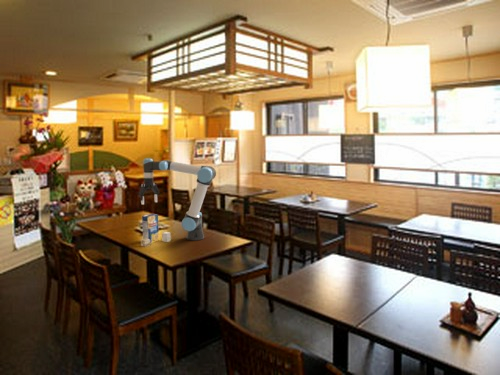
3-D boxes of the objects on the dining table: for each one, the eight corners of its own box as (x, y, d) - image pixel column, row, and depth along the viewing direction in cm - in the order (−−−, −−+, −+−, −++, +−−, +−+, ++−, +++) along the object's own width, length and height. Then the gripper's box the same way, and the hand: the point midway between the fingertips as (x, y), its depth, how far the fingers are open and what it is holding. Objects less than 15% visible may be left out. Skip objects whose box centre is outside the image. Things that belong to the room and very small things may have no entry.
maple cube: (150, 245, 294) (150, 239, 293) (145, 246, 290) (144, 240, 289) (146, 244, 297) (146, 238, 296) (141, 245, 293) (140, 239, 292)
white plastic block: (170, 240, 308) (170, 232, 308) (167, 242, 304) (167, 233, 303) (165, 239, 310) (165, 231, 309) (162, 241, 306) (162, 233, 305)
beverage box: (143, 242, 304) (142, 216, 301) (153, 239, 313) (152, 213, 310) (148, 243, 300) (147, 216, 297) (158, 240, 309) (158, 214, 306)
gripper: (157, 176, 312) (158, 200, 315) (132, 178, 292) (133, 204, 294) (163, 176, 307) (164, 201, 310) (138, 179, 287) (139, 205, 290)
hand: (149, 203), depth 302 cm, fingers open, 13 cm apart
